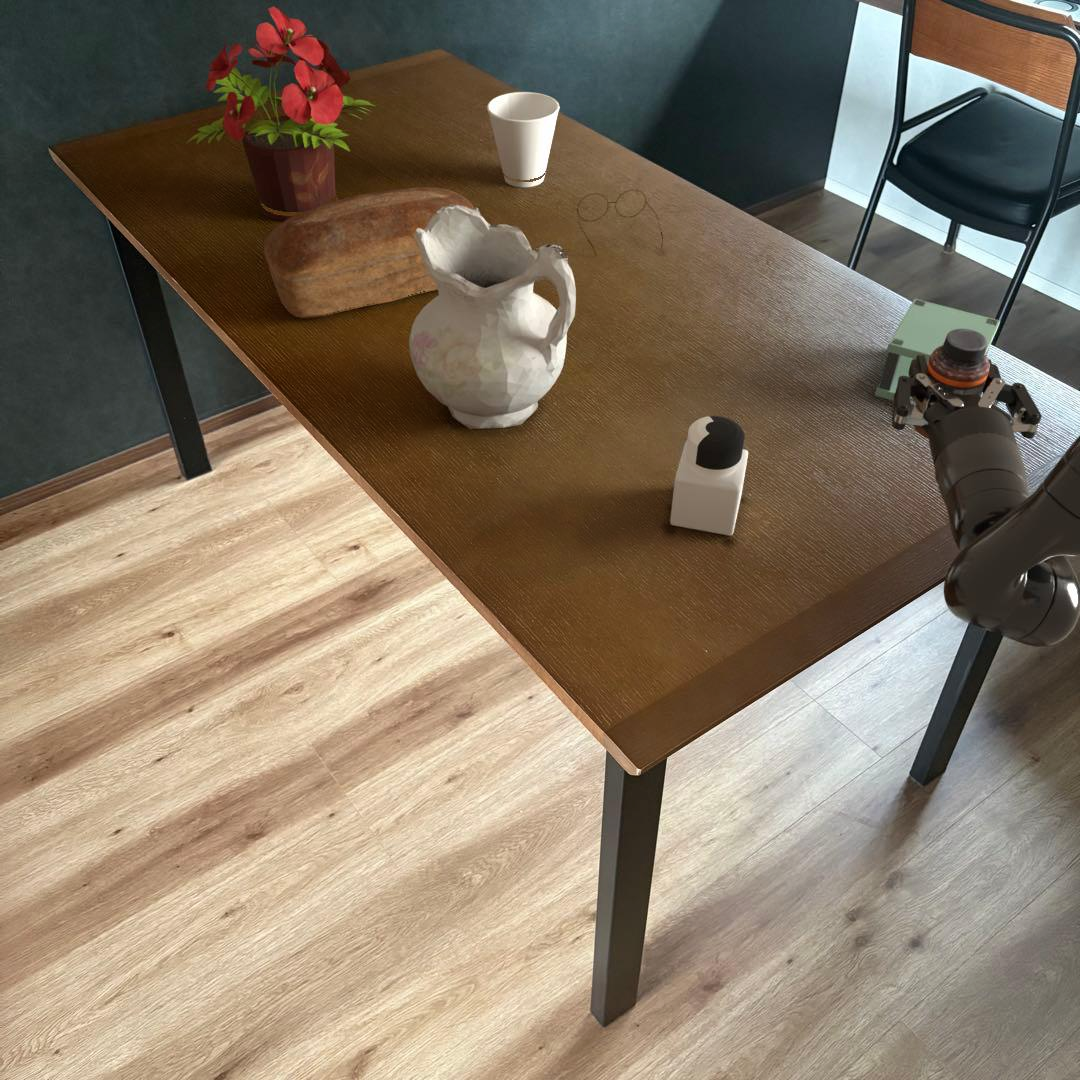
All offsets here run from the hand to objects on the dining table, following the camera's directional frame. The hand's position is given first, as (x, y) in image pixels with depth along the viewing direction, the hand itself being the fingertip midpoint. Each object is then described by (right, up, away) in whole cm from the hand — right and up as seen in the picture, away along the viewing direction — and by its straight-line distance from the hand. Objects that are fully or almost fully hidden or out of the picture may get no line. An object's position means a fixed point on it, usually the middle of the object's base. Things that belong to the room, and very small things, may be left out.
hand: (950, 364), depth 113 cm
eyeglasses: (-30, +30, +57) cm, 71 cm away
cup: (-46, +43, +72) cm, 96 cm away
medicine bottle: (-24, -15, +11) cm, 30 cm away
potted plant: (-82, +39, +67) cm, 113 cm away
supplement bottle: (0, -6, +3) cm, 7 cm away
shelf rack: (+8, +2, +29) cm, 30 cm away
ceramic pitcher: (-48, -1, +26) cm, 55 cm away
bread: (-66, +19, +47) cm, 83 cm away
